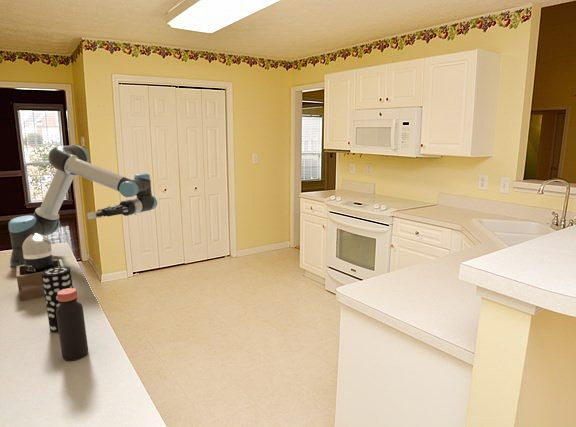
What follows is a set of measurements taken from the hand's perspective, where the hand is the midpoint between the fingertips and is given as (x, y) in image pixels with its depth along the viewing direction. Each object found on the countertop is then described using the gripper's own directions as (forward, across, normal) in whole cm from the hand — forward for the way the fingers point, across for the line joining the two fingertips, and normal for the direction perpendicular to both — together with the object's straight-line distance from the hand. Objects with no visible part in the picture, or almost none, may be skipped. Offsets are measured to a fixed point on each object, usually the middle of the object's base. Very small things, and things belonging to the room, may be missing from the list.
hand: (88, 216), depth 178 cm
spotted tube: (+39, -33, -28) cm, 58 cm away
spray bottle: (+21, +6, -28) cm, 36 cm away
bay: (+21, +6, -28) cm, 35 cm away
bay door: (+14, +2, -28) cm, 31 cm away
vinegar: (+49, -53, -28) cm, 77 cm away
